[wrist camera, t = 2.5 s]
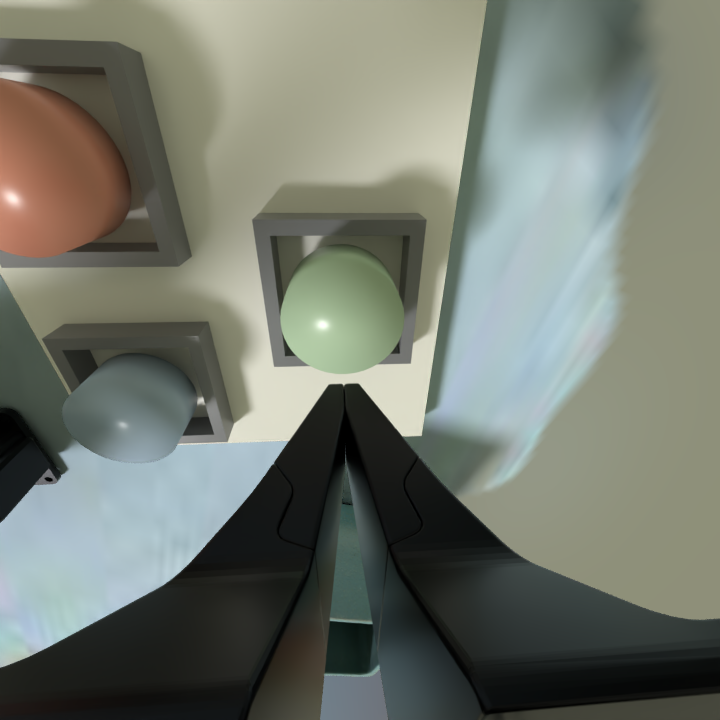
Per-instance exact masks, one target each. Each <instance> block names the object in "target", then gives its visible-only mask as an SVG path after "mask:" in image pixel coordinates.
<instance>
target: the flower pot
mask: <svg viewBox="0 0 720 720" xmlns="http://www.w3.org/2000/svg"><path fill="white" fill-rule="evenodd" d="M379 669H380V666H379V660H378V651H377V648H376V642H375V636H374V630H373V624H372V617H371V611H370V605H369V599H368V593H367V587H366V581H365V575H364V569H363V563H362V557H361V551H360V545H359V539H358V532H357V526H356V520H355V514H354V508H353V505H346V504H341V514H340V524H339V534H338V544H337V554H336V564H335V574H334V584H333V594H332V604H331V614H330V624H329V634H328V644H327V654H326V664H325V674H324V675H332V676H358V677H363V676H372V675H374V674H375V673H376V672H377V671H378V670H379Z"/></svg>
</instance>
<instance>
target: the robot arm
mask: <svg viewBox="0 0 720 720" xmlns="http://www.w3.org/2000/svg"><path fill="white" fill-rule="evenodd" d="M345 449H346V465H347V472H348V478H349V484H350V490H351V496H352V502H353V508H354V514H355V520H356V526H357V532H358V539H359V545H360V551H361V557H362V563H363V569H364V575H365V581H366V587H367V593H368V599H369V605H370V611H371V617H372V624H373V630H374V636H375V642H376V648H377V651H378V660H379V666H380V672H381V678H382V684H383V691H384V697H385V703H386V709H387V714H388V720H720V619H707V620H691V619H684V618H678V617H672V616H669V615H665V614H661V613H658V612H654V611H651V610H648V609H646V608H642V607H640V606H637V605H635V604H632V603H630V602H627V601H625V600H622V599H620V598H617V597H615V596H613V595H610V594H608V593H605V592H602V591H600V590H598V589H595V588H593V587H590V586H588V585H585V584H583V583H580V582H578V581H575V580H573V579H570V578H568V577H566V576H563V575H561V574H558V573H556V572H553V571H551V570H548V569H546V568H543V567H541V566H538V565H535V564H534V563H532V562H530V561H528V560H526V559H524V558H523V557H521V556H519V555H518V554H517V553H515V552H514V551H513V550H512V549H510V548H509V547H508V546H507V545H505V544H504V543H503V542H502V541H501V540H500V539H499V538H498V537H497V536H496V535H495V534H494V533H493V532H491V530H490V529H488V528H487V527H486V526H485V525H484V524H483V523H482V522H481V521H480V520H479V519H478V518H477V517H476V516H475V515H474V514H473V513H472V512H471V511H470V510H469V509H467V507H466V506H464V505H463V504H462V503H461V502H460V501H459V500H458V499H457V498H456V497H455V496H454V495H453V494H452V493H451V492H450V491H449V490H448V489H447V488H446V487H445V486H444V485H443V484H442V483H441V481H440V480H439V479H438V478H437V477H436V476H435V475H434V473H433V472H432V471H431V470H430V469H429V468H428V467H427V465H426V464H425V463H424V462H423V460H422V459H421V458H419V456H418V455H417V453H416V452H415V451H414V450H413V448H412V447H411V446H410V445H409V444H408V442H407V441H406V440H405V439H404V438H403V436H402V435H401V434H400V433H399V431H398V430H397V429H396V428H395V427H394V425H393V424H392V423H391V422H390V421H389V419H388V418H387V417H386V416H385V415H384V413H383V412H382V411H381V410H380V408H379V407H378V406H377V405H376V404H375V402H374V401H373V400H372V399H371V398H370V396H369V395H368V394H367V393H366V391H365V390H364V389H363V388H362V387H361V385H360V384H358V383H347V384H345V385H343V384H329V385H328V386H327V387H326V389H325V390H324V392H323V393H322V395H321V396H320V397H319V399H318V400H317V402H316V403H315V405H314V406H313V407H312V409H311V410H310V412H309V413H308V415H307V416H306V417H305V419H304V420H303V422H302V423H301V425H300V426H299V427H298V429H297V430H296V432H295V433H294V435H293V436H292V438H291V439H290V440H289V442H288V443H287V445H286V446H285V448H284V449H283V450H282V452H281V453H280V455H279V456H278V458H277V459H276V460H275V462H274V464H273V465H272V466H271V467H270V469H269V470H268V472H267V473H266V475H265V476H264V477H263V479H262V480H261V481H260V483H259V484H258V485H257V487H256V488H255V489H254V491H253V492H252V493H251V494H250V496H249V497H248V498H247V499H246V500H245V501H244V503H243V504H242V505H241V506H240V507H239V509H238V510H237V511H236V512H235V513H234V514H233V515H232V516H231V518H230V519H229V520H228V521H227V522H226V523H225V524H224V525H223V527H222V528H221V529H220V530H219V531H218V532H217V533H216V534H215V536H214V537H213V538H212V539H211V540H210V541H209V542H208V543H207V545H206V546H205V547H204V548H203V549H202V550H201V551H200V552H199V554H198V555H197V556H196V557H195V558H194V559H193V560H192V561H191V562H190V563H189V564H188V565H187V566H186V567H185V568H184V569H183V570H182V571H181V572H180V573H179V574H177V575H176V576H175V577H174V578H173V579H171V580H170V581H169V582H167V583H166V584H164V585H163V586H161V587H159V588H158V589H156V590H154V591H152V592H150V593H148V594H147V595H145V596H143V597H141V598H139V599H137V600H135V601H134V602H132V603H130V604H128V605H126V606H124V607H122V608H120V609H119V610H117V611H115V612H113V613H111V614H109V615H107V616H106V617H104V618H102V619H100V620H98V621H96V622H94V623H93V624H91V625H89V626H87V627H85V628H83V629H81V630H80V631H78V632H76V633H74V634H72V635H70V636H68V637H67V638H65V639H63V640H61V641H59V642H57V643H55V644H53V645H52V646H50V647H48V648H46V649H44V650H42V651H40V652H38V653H36V654H34V655H32V656H30V657H27V658H25V659H22V660H20V661H17V662H15V663H12V664H10V665H7V666H4V667H1V668H0V720H320V714H321V704H322V694H323V683H324V674H325V664H326V654H327V644H328V634H329V624H330V614H331V604H332V594H333V584H334V574H335V564H336V554H337V544H338V534H339V524H340V514H341V504H342V494H343V484H344V474H345ZM60 478H61V474H60V473H59V472H58V470H57V469H56V467H55V466H54V464H53V463H52V461H51V460H50V459H49V457H48V456H47V454H46V453H45V451H44V450H43V449H42V447H41V446H40V444H39V443H38V441H37V440H36V438H35V437H34V436H33V434H32V433H31V431H30V430H29V428H28V427H27V426H26V424H25V423H24V421H23V420H22V418H21V417H20V415H19V414H18V413H17V412H16V411H14V410H11V409H7V408H2V409H0V523H1V522H2V521H3V520H4V519H5V518H6V517H7V515H8V514H9V513H10V512H11V511H12V510H13V509H14V507H15V506H16V505H17V504H18V503H19V502H20V501H21V499H22V498H23V497H24V496H25V495H26V494H27V493H28V492H29V490H30V489H31V488H32V487H33V486H34V485H43V484H55V483H57V481H58V480H59V479H60Z"/></svg>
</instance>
